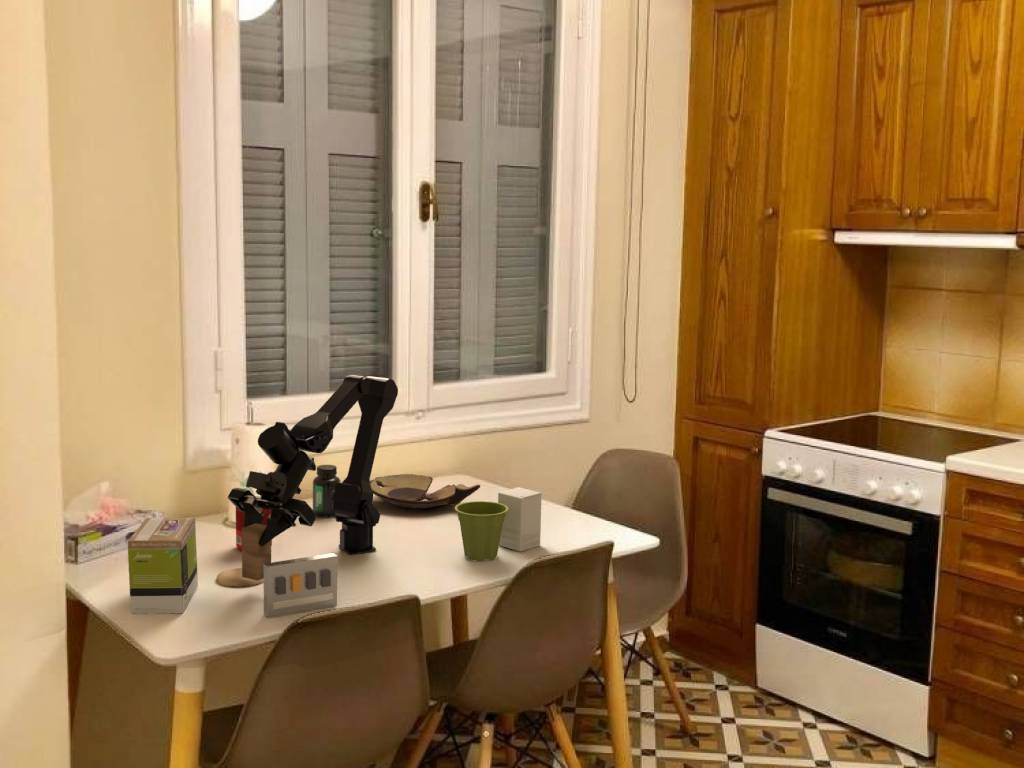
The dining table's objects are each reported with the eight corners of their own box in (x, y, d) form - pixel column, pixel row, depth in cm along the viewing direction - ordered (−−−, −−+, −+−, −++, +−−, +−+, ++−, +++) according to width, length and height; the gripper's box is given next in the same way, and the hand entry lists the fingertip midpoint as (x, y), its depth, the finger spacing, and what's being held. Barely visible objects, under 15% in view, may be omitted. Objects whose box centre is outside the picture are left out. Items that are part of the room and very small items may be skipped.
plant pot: (506, 548, 256) (508, 500, 254) (507, 565, 244) (509, 515, 242) (454, 547, 255) (455, 499, 253) (452, 564, 244) (454, 514, 242)
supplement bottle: (319, 519, 274) (319, 471, 272) (308, 512, 280) (308, 465, 278) (345, 515, 278) (345, 468, 276) (333, 508, 283) (333, 462, 281)
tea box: (147, 587, 224) (146, 515, 222) (199, 587, 225) (197, 515, 223) (128, 615, 210) (126, 538, 207) (183, 614, 211) (182, 538, 208)
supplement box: (541, 545, 259) (543, 492, 256) (519, 552, 253) (521, 498, 251) (517, 538, 264) (519, 486, 261) (495, 545, 258) (497, 491, 256)
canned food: (263, 555, 246) (263, 506, 244) (229, 551, 247) (229, 503, 246) (277, 544, 253) (277, 497, 252) (244, 541, 255) (244, 494, 253)
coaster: (257, 567, 238) (256, 565, 237) (273, 582, 229) (273, 579, 229) (210, 575, 232) (210, 572, 232) (225, 590, 224) (225, 587, 224)
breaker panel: (332, 602, 219) (333, 553, 217) (338, 607, 217) (339, 557, 215) (263, 614, 212) (263, 563, 210) (269, 619, 209) (268, 568, 208)
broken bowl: (414, 487, 306) (415, 460, 305) (492, 511, 286) (493, 482, 285) (349, 501, 290) (349, 472, 289) (426, 527, 270) (426, 496, 269)
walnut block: (255, 571, 225) (255, 523, 224) (271, 575, 223) (271, 526, 222) (242, 577, 222) (241, 528, 220) (257, 580, 220) (257, 531, 218)
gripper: (233, 448, 226) (194, 514, 219) (306, 461, 218) (269, 530, 210) (259, 478, 234) (223, 542, 227) (331, 491, 226) (296, 559, 218)
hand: (251, 543), depth 220 cm, fingers closed on walnut block, 4 cm apart
